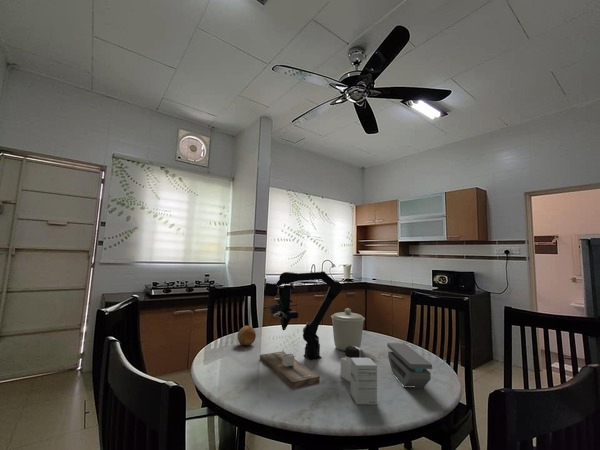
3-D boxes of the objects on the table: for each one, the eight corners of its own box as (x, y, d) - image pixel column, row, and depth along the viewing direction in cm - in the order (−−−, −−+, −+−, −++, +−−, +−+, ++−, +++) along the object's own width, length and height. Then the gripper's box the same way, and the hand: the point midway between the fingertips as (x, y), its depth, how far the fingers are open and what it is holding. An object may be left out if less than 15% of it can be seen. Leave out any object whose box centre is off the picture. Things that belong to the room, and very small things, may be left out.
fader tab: (290, 362, 122) (291, 352, 123) (294, 365, 119) (294, 355, 120) (282, 364, 120) (282, 354, 121) (285, 366, 117) (285, 356, 118)
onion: (233, 347, 147) (234, 327, 148) (242, 341, 157) (243, 323, 158) (250, 349, 144) (251, 329, 146) (258, 343, 154) (259, 325, 155)
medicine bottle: (350, 383, 109) (351, 351, 110) (340, 376, 115) (340, 345, 117) (365, 380, 112) (365, 348, 114) (354, 373, 119) (354, 343, 120)
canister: (369, 347, 153) (369, 308, 156) (357, 357, 138) (357, 313, 140) (338, 341, 163) (339, 304, 165) (324, 349, 148) (325, 308, 150)
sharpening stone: (387, 368, 125) (387, 342, 126) (404, 368, 125) (404, 343, 127) (410, 396, 100) (410, 364, 102) (432, 396, 101) (431, 364, 102)
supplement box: (349, 394, 100) (350, 357, 102) (370, 394, 101) (370, 357, 102) (355, 405, 93) (356, 365, 94) (377, 404, 93) (377, 365, 95)
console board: (282, 355, 137) (283, 350, 137) (319, 381, 109) (319, 375, 110) (259, 359, 131) (260, 354, 131) (292, 387, 104) (292, 381, 104)
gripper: (262, 295, 144) (261, 327, 142) (278, 301, 128) (277, 336, 126) (282, 294, 150) (281, 325, 148) (299, 300, 134) (298, 334, 132)
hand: (283, 330), depth 138 cm, fingers closed
